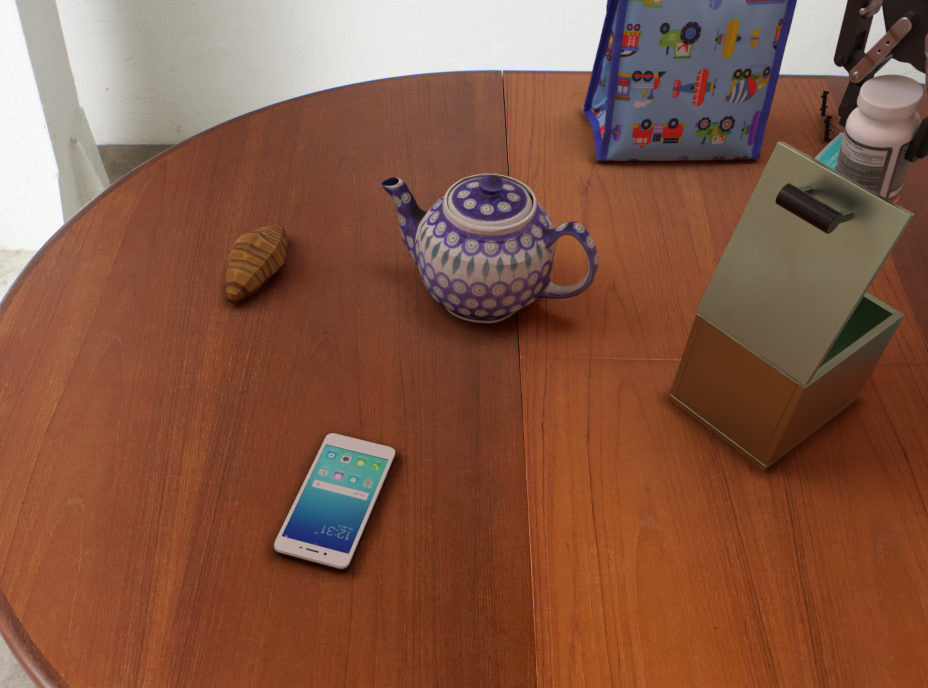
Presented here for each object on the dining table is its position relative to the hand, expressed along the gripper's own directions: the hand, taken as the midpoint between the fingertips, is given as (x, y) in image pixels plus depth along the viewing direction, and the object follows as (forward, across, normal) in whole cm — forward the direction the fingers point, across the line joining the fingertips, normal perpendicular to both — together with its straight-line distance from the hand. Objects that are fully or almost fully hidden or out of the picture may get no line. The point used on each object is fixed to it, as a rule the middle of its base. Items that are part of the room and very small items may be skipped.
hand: (880, 139), depth 79 cm
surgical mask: (+28, +19, -40) cm, 52 cm away
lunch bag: (+28, +38, -25) cm, 53 cm away
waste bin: (+28, -2, +4) cm, 28 cm away
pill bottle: (+5, -1, 0) cm, 5 cm away
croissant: (+28, +48, +34) cm, 65 cm away
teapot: (+28, +29, +16) cm, 44 cm away
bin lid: (+8, -2, +9) cm, 12 cm away
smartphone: (+28, +15, +47) cm, 57 cm away
